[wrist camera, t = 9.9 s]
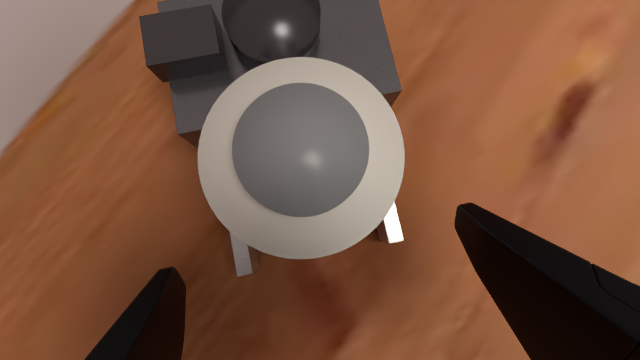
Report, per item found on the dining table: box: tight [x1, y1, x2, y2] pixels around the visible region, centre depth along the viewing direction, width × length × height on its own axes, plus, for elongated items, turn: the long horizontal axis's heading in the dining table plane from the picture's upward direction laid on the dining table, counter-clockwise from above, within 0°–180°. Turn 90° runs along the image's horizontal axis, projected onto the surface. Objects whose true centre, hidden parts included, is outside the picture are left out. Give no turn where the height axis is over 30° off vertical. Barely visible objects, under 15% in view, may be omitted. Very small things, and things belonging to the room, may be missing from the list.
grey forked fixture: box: [139, 0, 404, 277], centre depth 17 cm, size 14×11×7 cm
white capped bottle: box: [198, 57, 404, 259], centre depth 14 cm, size 5×5×13 cm
